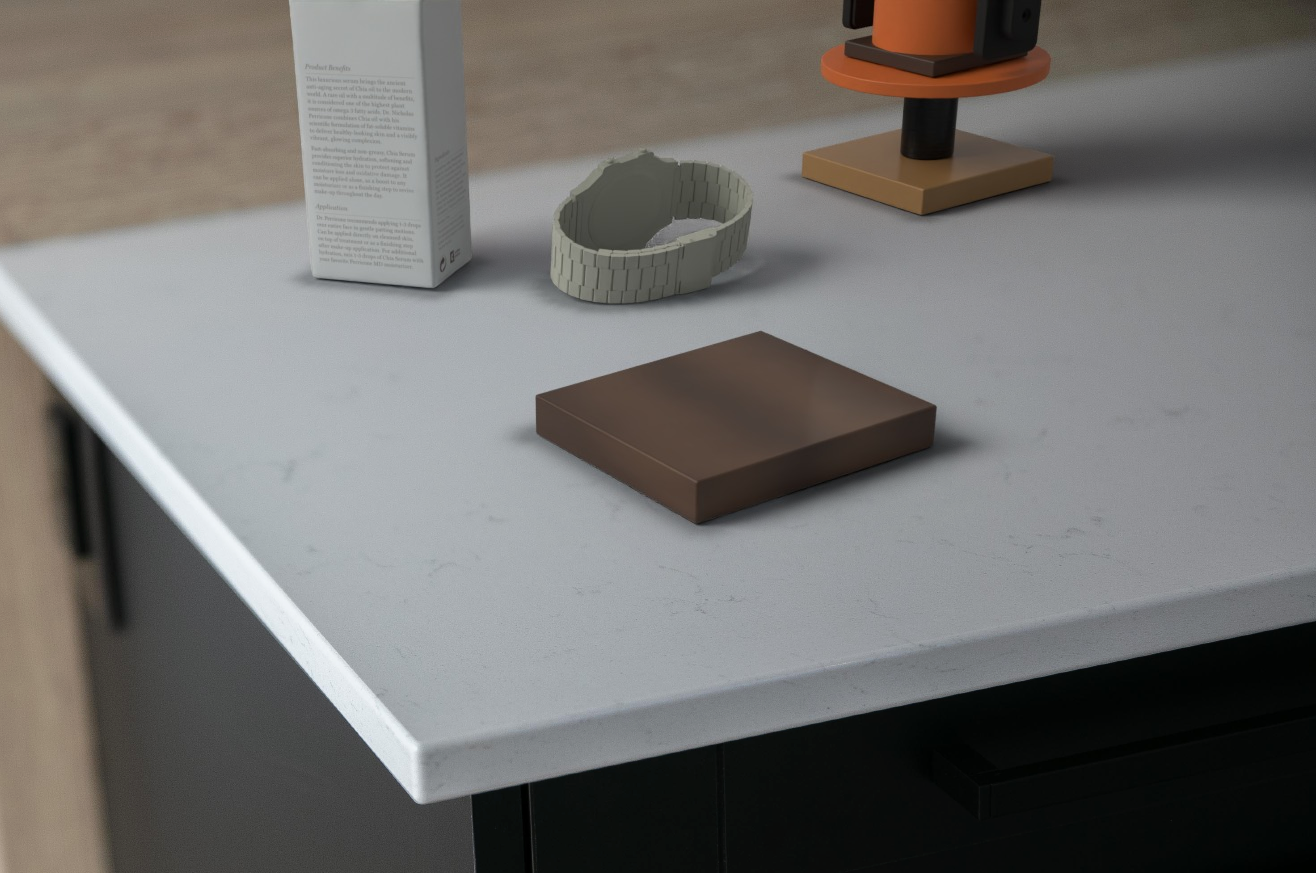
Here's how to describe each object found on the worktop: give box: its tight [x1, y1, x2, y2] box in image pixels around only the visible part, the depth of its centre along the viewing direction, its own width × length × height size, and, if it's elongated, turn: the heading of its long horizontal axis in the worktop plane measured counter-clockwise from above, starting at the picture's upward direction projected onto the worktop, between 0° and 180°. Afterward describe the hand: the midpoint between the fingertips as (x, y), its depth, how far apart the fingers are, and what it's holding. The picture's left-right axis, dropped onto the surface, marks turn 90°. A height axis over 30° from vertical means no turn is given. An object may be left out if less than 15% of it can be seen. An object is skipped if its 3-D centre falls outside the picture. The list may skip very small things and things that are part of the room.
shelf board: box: [535, 330, 938, 524], centre depth 66 cm, size 10×9×2 cm
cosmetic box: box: [288, 0, 473, 289], centre depth 82 cm, size 6×4×12 cm
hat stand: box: [801, 97, 1055, 216], centre depth 90 cm, size 8×8×5 cm
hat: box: [820, 0, 1052, 99], centre depth 87 cm, size 10×10×6 cm
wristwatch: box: [550, 146, 754, 304], centre depth 80 cm, size 9×6×5 cm
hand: (936, 36), depth 88 cm, fingers open, 7 cm apart
